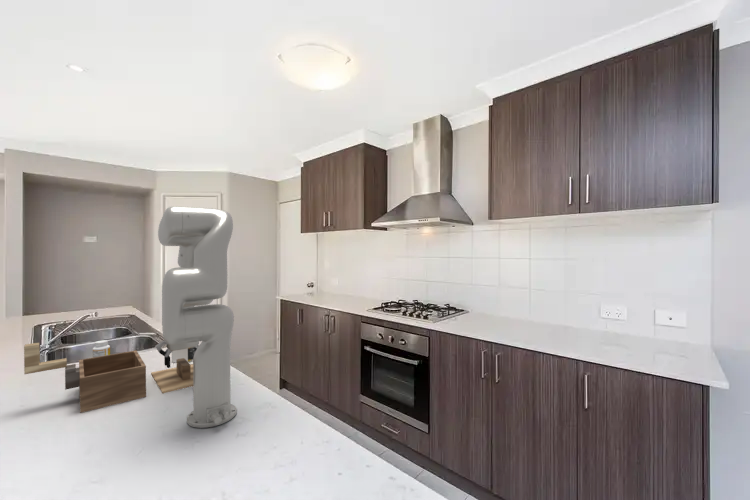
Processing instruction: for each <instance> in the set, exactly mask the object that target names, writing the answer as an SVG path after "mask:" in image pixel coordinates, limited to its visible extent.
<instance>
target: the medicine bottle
mask: <svg viewBox="0 0 750 500" xmlns="http://www.w3.org/2000/svg"><path fill="white" fill-rule="evenodd" d="M196 349H197V348H195V347H192V348H187V349H181V350H175V351H172V352H171V363H173V364H174V363H175V364H177V359H181V358H184V359H185V360H186V361H187V362H188V363H191V362H193V357H194V354H195V350H196Z"/></svg>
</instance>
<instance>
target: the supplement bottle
mask: <svg viewBox="0 0 750 500" xmlns="http://www.w3.org/2000/svg"><path fill="white" fill-rule="evenodd" d="M105 355H111V345H109V342H108V340H107V339H105V340H104V339H103V340H98V341H95V342H94V346H93V347H92V358H93V357H99V356H105Z"/></svg>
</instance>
